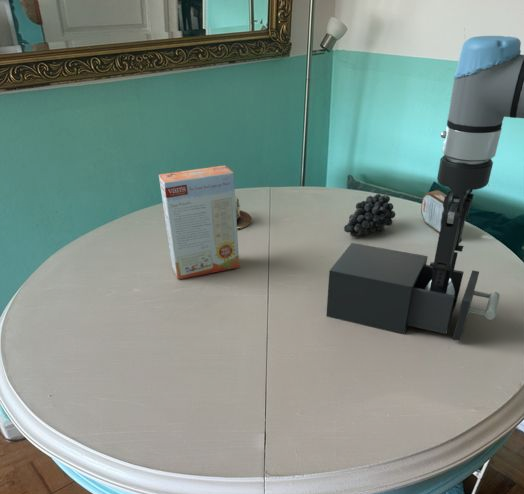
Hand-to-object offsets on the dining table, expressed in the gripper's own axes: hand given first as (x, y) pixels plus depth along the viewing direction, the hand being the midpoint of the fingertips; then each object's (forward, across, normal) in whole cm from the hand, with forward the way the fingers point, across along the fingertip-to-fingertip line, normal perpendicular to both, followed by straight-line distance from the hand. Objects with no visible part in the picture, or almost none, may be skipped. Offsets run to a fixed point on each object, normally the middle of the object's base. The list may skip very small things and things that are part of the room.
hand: (439, 292), depth 91 cm
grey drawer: (+5, 0, +1) cm, 5 cm away
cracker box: (+6, -1, -49) cm, 50 cm away
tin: (+6, -42, -7) cm, 43 cm away
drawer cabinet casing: (+6, 0, -11) cm, 13 cm away
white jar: (+1, 0, 0) cm, 1 cm away
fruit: (+6, -34, -23) cm, 42 cm away
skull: (+6, -26, -57) cm, 63 cm away
